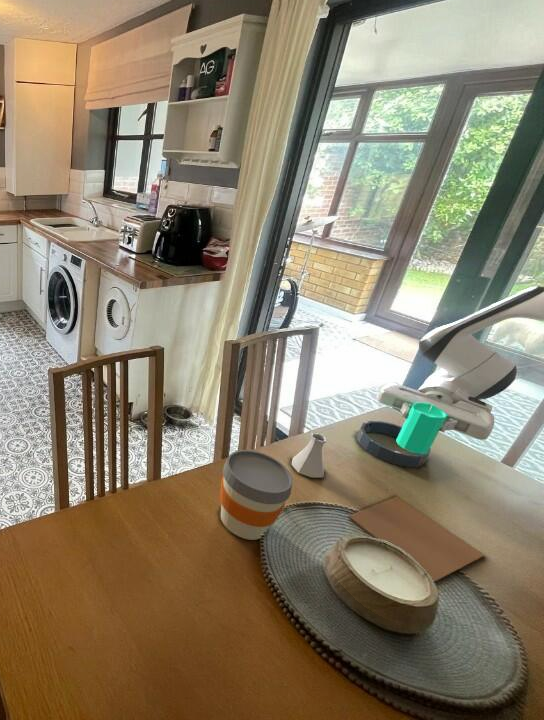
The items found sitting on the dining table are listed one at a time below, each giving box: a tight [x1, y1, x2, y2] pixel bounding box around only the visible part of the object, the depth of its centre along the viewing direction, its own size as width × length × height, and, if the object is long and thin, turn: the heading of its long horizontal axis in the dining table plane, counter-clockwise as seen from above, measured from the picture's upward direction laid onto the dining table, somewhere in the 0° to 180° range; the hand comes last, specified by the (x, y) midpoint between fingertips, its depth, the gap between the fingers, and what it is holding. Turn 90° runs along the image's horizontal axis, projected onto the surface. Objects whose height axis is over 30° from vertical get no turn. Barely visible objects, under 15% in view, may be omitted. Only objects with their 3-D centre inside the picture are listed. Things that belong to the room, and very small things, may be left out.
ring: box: [356, 420, 432, 468], centre depth 110 cm, size 14×14×4 cm
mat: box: [348, 496, 485, 583], centre depth 86 cm, size 16×16×1 cm
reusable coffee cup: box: [219, 449, 294, 541], centre depth 86 cm, size 13×13×15 cm
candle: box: [395, 402, 447, 455], centre depth 95 cm, size 6×6×12 cm
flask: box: [291, 432, 327, 479], centre depth 102 cm, size 7×7×10 cm
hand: (423, 422), depth 94 cm, fingers closed on candle, 5 cm apart
